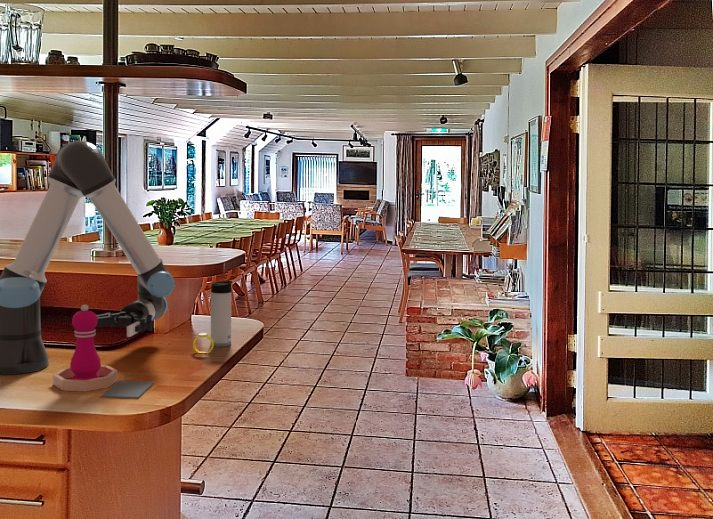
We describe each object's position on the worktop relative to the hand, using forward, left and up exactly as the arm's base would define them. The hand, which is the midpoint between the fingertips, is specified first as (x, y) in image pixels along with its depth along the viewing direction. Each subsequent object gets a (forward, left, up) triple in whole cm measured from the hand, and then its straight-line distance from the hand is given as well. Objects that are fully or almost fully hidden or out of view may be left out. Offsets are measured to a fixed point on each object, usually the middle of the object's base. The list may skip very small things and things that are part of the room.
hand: (103, 330), depth 185 cm
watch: (+21, +22, -11) cm, 33 cm away
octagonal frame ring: (-1, -10, -11) cm, 15 cm away
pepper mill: (-1, -10, -11) cm, 15 cm away
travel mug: (+24, +33, -11) cm, 43 cm away
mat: (+12, -15, -11) cm, 22 cm away
